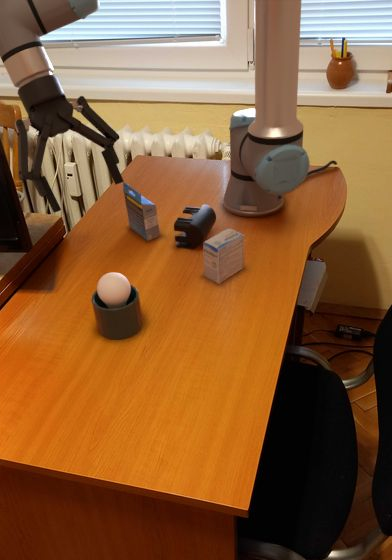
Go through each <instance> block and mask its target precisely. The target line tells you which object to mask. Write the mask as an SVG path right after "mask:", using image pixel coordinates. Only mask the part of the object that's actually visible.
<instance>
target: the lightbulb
mask: <svg viewBox="0 0 392 560" xmlns="http://www.w3.org/2000/svg"><path fill="white" fill-rule="evenodd" d="M96 285H97V286H96V290H97V292H98V295H99V297H100V299H101V300H102V301H103V302H104V303H105V304H106V305H107V307H108V309H116V308H122V307H124V306H126V302H127V300H128V298H129V295H130V291H131V287H130V285H131V284H130V281H129V280H128V278H127V277H126V276H125V275H124V274H122V273H120V272H114V271H113V272H112V271H111V272H108V273H105V274H103V275H102V276H101V277H100V279H99V280H98V282H97V284H96Z"/></svg>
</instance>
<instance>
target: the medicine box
mask: <svg viewBox="0 0 392 560" xmlns="http://www.w3.org/2000/svg"><path fill="white" fill-rule="evenodd" d="M202 246H203V247H202V248H203V250H202V251H203V263H204V264H203V266H204V268H203V269H204V277H205V278H207V279H208V280H210V281H212V282H214V283H215V284H218V285H220V284H221V283H223V282H224V281H226V280H228V279H230V278H231V277H232V276H234V275H235V274H237V273H238V272H240V271H241V270H243V269H244V261H245V260H244V259H245V257H244V256H245V254H244V253H245V234H243V233H241V232H239V231H237V230H234V229H233V228H229V227H228V228H226V229H225V230H223V231H220V232H219V233H217V234H215V235H214V236H211V237H210V238H209V239H207V240H204V241H203V243H202Z"/></svg>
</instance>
